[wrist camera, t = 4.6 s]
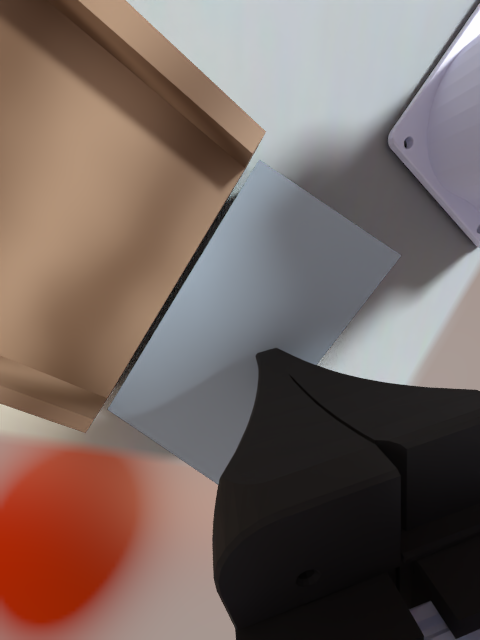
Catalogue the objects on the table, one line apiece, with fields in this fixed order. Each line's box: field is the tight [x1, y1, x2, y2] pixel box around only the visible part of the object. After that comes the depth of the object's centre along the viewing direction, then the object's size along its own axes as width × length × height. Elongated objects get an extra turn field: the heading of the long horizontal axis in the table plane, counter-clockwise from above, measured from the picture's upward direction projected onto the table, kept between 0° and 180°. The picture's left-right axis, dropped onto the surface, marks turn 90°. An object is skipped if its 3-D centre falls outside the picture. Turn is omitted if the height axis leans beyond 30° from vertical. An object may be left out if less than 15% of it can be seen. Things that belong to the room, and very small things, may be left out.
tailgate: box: [108, 160, 401, 484], centre depth 11 cm, size 1×14×7 cm
